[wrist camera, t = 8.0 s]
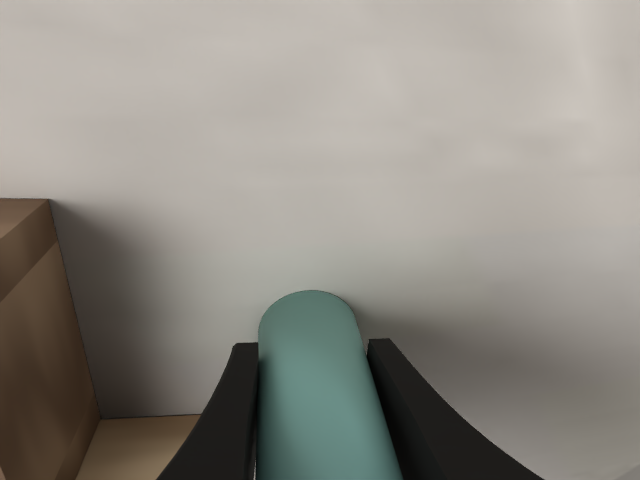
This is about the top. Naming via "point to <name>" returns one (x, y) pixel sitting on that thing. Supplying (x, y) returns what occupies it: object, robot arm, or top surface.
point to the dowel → (318, 396)
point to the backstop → (134, 447)
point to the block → (40, 353)
